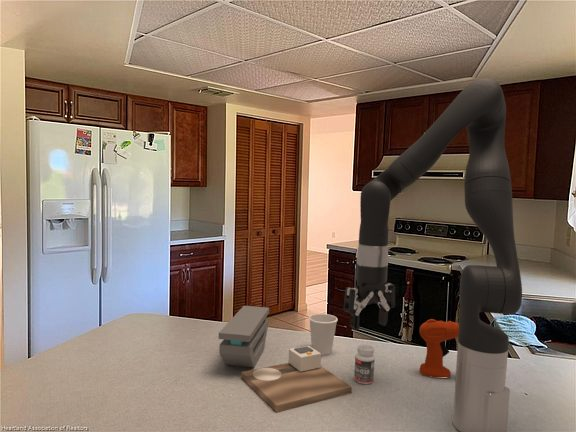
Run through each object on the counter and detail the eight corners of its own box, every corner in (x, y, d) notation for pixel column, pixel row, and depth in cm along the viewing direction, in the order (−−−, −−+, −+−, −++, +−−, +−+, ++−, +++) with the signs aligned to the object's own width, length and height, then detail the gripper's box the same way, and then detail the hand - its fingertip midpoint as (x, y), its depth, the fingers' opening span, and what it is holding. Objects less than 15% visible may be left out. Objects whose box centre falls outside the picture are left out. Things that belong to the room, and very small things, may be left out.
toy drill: (499, 379, 109) (495, 320, 108) (421, 379, 112) (417, 322, 111) (493, 370, 114) (489, 314, 113) (418, 371, 117) (414, 317, 116)
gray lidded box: (248, 379, 107) (249, 335, 106) (217, 375, 108) (218, 332, 107) (267, 343, 131) (269, 307, 131) (242, 340, 132) (243, 305, 132)
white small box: (320, 367, 111) (321, 352, 111) (300, 371, 108) (301, 355, 108) (307, 358, 116) (308, 344, 116) (288, 362, 113) (289, 347, 113)
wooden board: (351, 392, 102) (351, 385, 101) (276, 412, 92) (276, 404, 91) (309, 363, 117) (309, 357, 117) (241, 377, 107) (241, 371, 107)
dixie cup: (336, 347, 130) (337, 314, 129) (336, 358, 122) (337, 323, 121) (308, 345, 131) (309, 312, 130) (306, 355, 123) (307, 321, 122)
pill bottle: (351, 381, 108) (353, 348, 107) (357, 374, 112) (359, 342, 111) (370, 386, 105) (372, 352, 105) (375, 379, 110) (377, 346, 109)
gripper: (384, 258, 114) (381, 319, 115) (339, 261, 107) (336, 326, 108) (404, 263, 107) (401, 328, 108) (358, 267, 100) (354, 336, 102)
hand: (368, 326), depth 108 cm, fingers open, 8 cm apart
